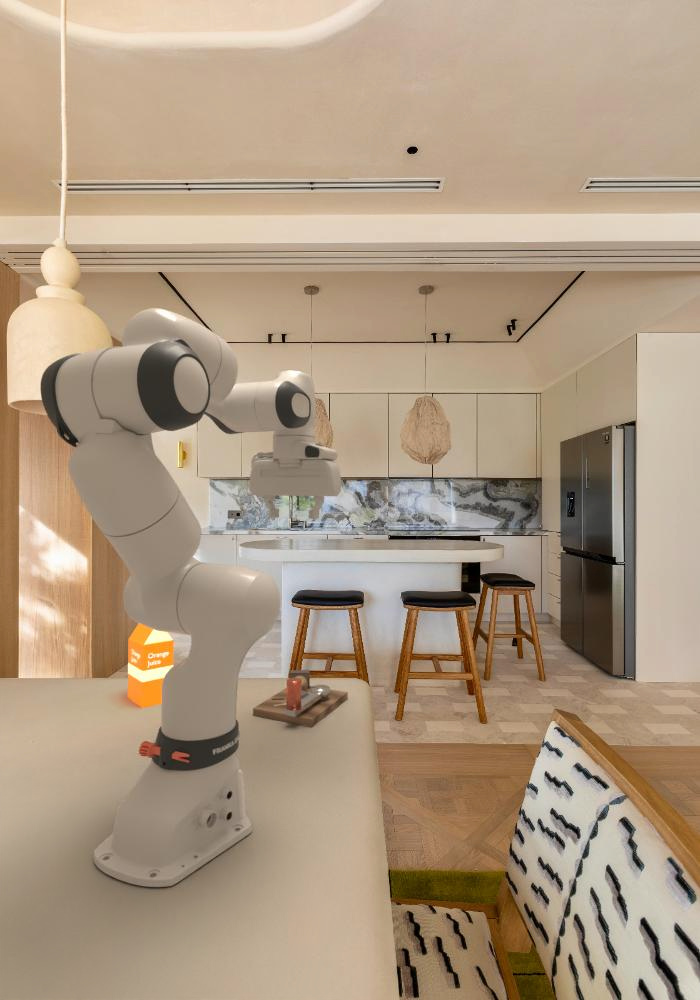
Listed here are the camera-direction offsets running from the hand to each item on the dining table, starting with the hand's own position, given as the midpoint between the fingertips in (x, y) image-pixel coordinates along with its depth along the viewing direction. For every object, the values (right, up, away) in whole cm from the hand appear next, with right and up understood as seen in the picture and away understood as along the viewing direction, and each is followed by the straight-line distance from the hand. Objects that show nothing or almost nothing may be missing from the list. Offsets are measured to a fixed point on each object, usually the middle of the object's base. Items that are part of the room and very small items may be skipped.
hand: (293, 518), depth 116 cm
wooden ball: (-1, -44, +21) cm, 49 cm away
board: (0, -45, +16) cm, 48 cm away
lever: (+2, -43, +11) cm, 44 cm away
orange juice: (-37, -45, +19) cm, 61 cm away
